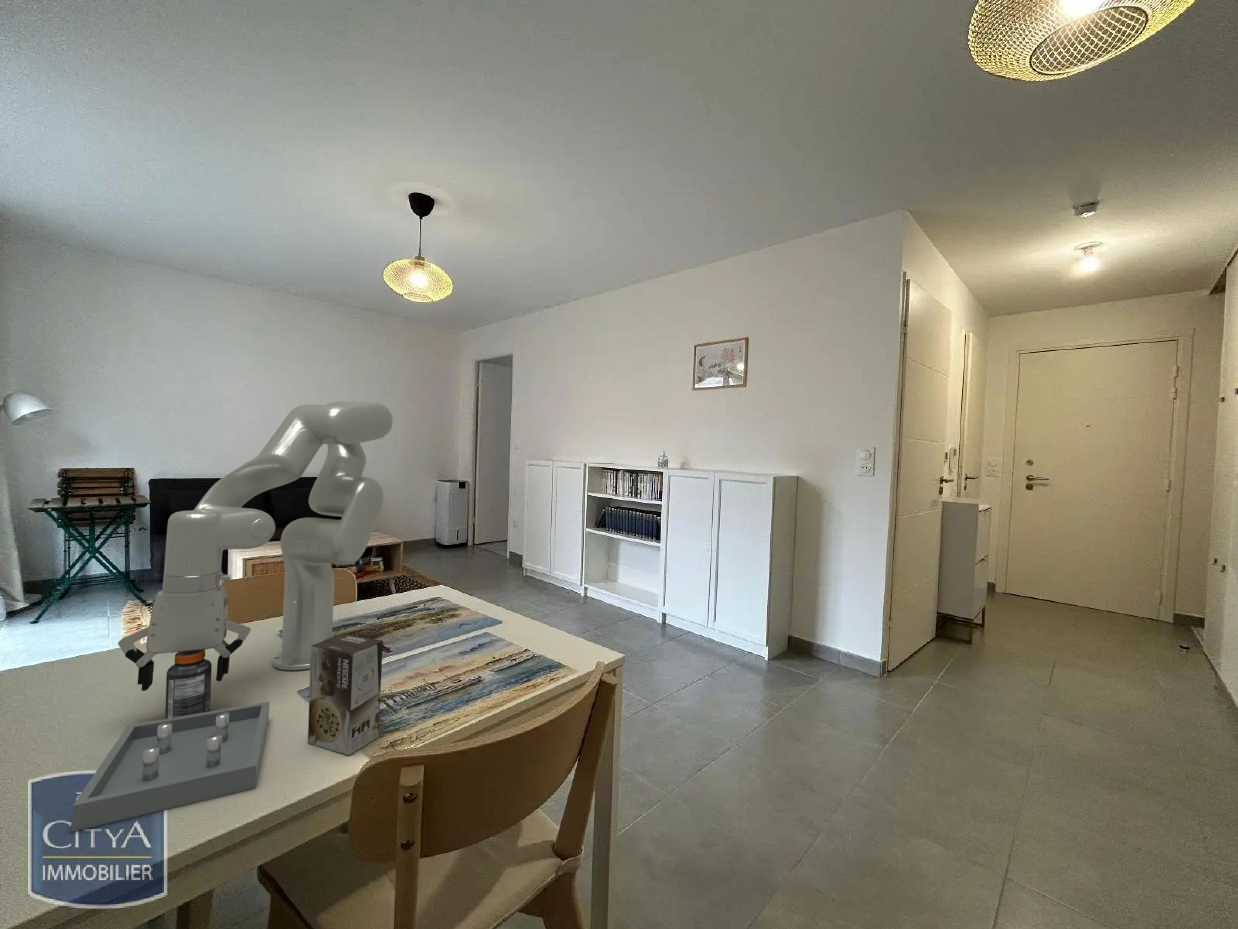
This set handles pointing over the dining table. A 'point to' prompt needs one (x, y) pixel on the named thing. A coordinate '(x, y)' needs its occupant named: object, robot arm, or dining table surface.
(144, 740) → the pin tray
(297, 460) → the robot arm
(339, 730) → the coffee box
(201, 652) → the pill bottle
